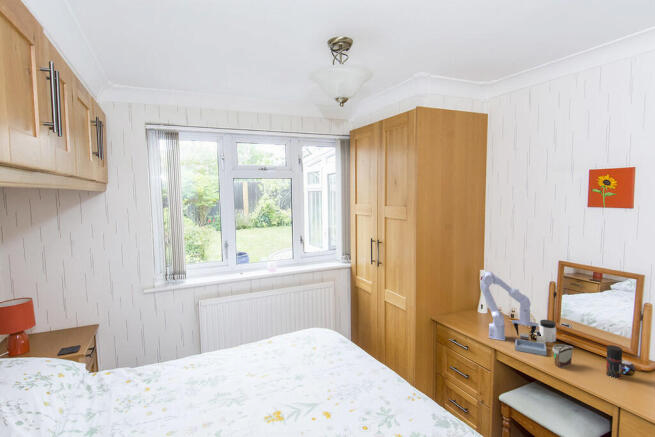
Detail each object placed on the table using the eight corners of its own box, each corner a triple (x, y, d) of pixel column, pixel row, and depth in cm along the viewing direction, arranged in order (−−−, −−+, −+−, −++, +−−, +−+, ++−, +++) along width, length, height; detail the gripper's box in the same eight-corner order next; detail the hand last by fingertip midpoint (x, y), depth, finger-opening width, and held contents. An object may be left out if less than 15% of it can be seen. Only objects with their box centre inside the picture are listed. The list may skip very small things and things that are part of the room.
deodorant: (619, 379, 169) (620, 351, 168) (604, 375, 174) (605, 347, 173) (622, 375, 173) (623, 348, 171) (608, 371, 177) (609, 344, 176)
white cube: (536, 345, 210) (537, 338, 209) (536, 342, 214) (536, 335, 213) (545, 346, 207) (545, 339, 207) (544, 343, 211) (545, 336, 211)
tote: (515, 350, 203) (515, 345, 203) (515, 343, 213) (515, 338, 213) (546, 356, 195) (546, 351, 195) (545, 348, 205) (545, 343, 204)
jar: (549, 343, 210) (550, 325, 210) (537, 338, 218) (537, 321, 217) (558, 340, 214) (558, 322, 214) (545, 335, 222) (545, 318, 221)
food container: (561, 358, 192) (562, 342, 191) (572, 363, 186) (573, 346, 185) (546, 363, 187) (547, 346, 187) (557, 368, 182) (558, 351, 181)
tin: (520, 342, 214) (520, 335, 214) (520, 339, 218) (520, 332, 218) (528, 343, 212) (529, 337, 211) (528, 340, 216) (528, 334, 215)
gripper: (511, 315, 214) (511, 336, 215) (538, 319, 207) (538, 340, 208) (512, 312, 220) (512, 332, 221) (537, 315, 213) (537, 336, 214)
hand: (524, 336), depth 215 cm, fingers open, 7 cm apart
